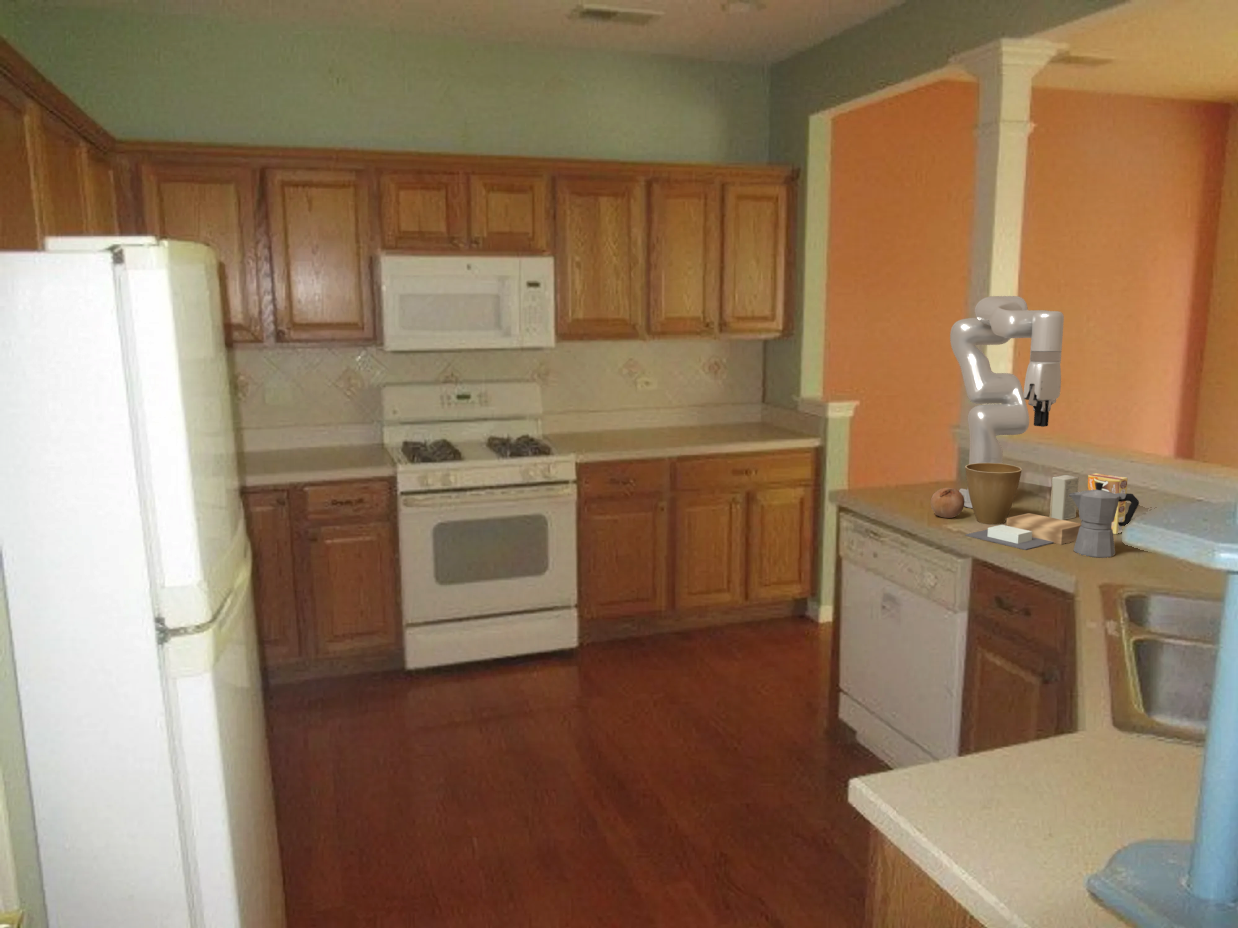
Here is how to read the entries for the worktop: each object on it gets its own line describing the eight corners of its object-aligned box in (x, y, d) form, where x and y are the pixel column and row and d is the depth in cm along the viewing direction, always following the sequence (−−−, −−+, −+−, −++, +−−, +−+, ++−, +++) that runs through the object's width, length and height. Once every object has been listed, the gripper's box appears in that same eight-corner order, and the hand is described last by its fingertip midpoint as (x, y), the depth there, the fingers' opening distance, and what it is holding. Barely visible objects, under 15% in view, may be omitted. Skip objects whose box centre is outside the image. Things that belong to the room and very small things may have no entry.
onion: (948, 529, 258) (949, 503, 253) (923, 515, 265) (923, 489, 260) (971, 515, 262) (972, 488, 256) (945, 501, 269) (946, 475, 263)
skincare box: (1063, 515, 262) (1066, 474, 259) (1076, 518, 258) (1079, 477, 256) (1048, 517, 259) (1051, 476, 257) (1062, 520, 255) (1065, 479, 253)
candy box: (1124, 532, 241) (1128, 477, 238) (1115, 535, 238) (1120, 479, 236) (1091, 526, 248) (1096, 472, 245) (1083, 528, 246) (1087, 474, 243)
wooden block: (1006, 532, 243) (1006, 517, 242) (1028, 527, 248) (1029, 513, 247) (1061, 544, 229) (1062, 529, 229) (1083, 538, 235) (1084, 524, 234)
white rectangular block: (1001, 524, 240) (1001, 533, 241) (987, 527, 237) (987, 536, 238) (1032, 531, 233) (1031, 540, 233) (1018, 534, 230) (1017, 543, 230)
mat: (965, 535, 240) (965, 534, 240) (993, 529, 246) (993, 528, 246) (1025, 550, 225) (1025, 548, 225) (1053, 542, 231) (1053, 541, 231)
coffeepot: (1066, 555, 219) (1072, 484, 216) (1062, 546, 228) (1067, 477, 225) (1137, 561, 214) (1144, 488, 211) (1130, 551, 223) (1136, 481, 220)
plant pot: (957, 515, 263) (960, 462, 261) (1010, 516, 261) (1014, 463, 258) (968, 527, 249) (971, 471, 246) (1024, 528, 246) (1028, 472, 244)
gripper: (1048, 356, 243) (1044, 422, 247) (1015, 358, 236) (1011, 426, 239) (1075, 357, 237) (1070, 425, 240) (1041, 359, 229) (1036, 429, 233)
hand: (1040, 425), depth 240 cm, fingers closed
